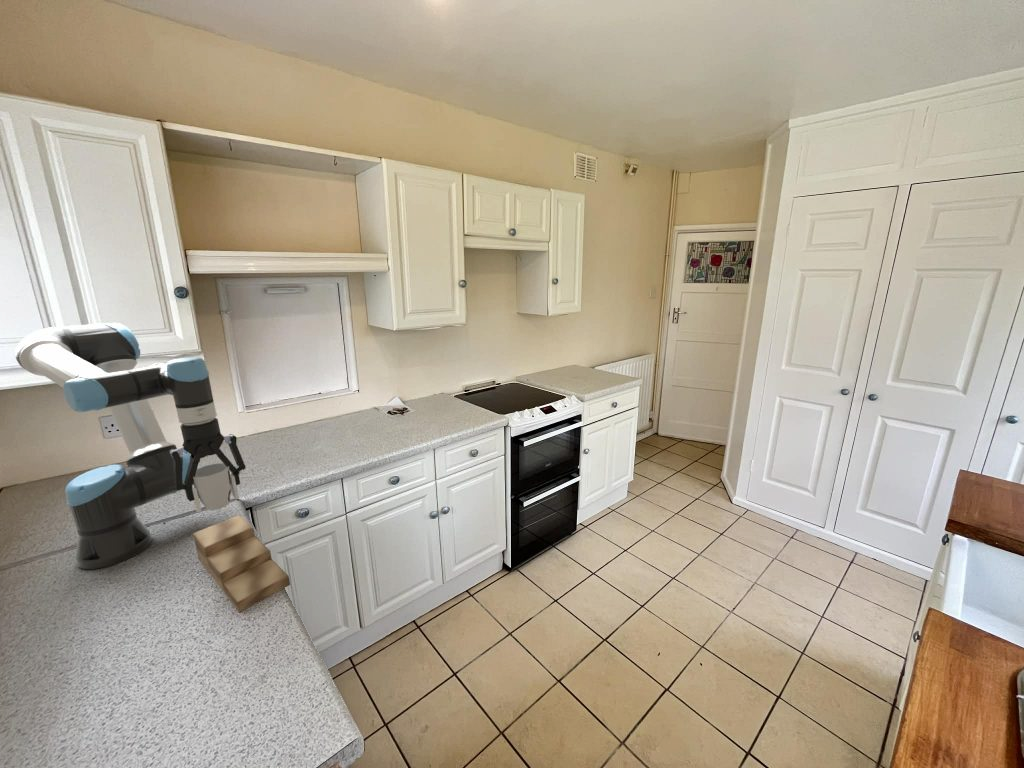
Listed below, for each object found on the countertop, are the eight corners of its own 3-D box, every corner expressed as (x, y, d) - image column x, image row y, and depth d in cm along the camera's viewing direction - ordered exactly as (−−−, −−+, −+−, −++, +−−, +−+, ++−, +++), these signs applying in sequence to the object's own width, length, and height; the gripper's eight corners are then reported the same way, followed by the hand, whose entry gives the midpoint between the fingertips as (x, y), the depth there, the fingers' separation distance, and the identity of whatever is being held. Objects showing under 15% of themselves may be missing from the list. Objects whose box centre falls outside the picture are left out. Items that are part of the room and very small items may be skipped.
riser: (239, 612, 92) (232, 583, 90) (198, 558, 111) (192, 533, 109) (290, 584, 100) (285, 557, 99) (244, 538, 119) (239, 514, 117)
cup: (240, 503, 109) (233, 468, 106) (204, 517, 103) (195, 480, 100) (230, 494, 114) (222, 460, 111) (194, 506, 108) (185, 471, 105)
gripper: (148, 436, 92) (172, 526, 98) (250, 412, 108) (265, 492, 113) (141, 429, 97) (164, 515, 103) (240, 407, 112) (255, 484, 118)
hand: (217, 503), depth 108 cm, fingers closed on cup, 8 cm apart
